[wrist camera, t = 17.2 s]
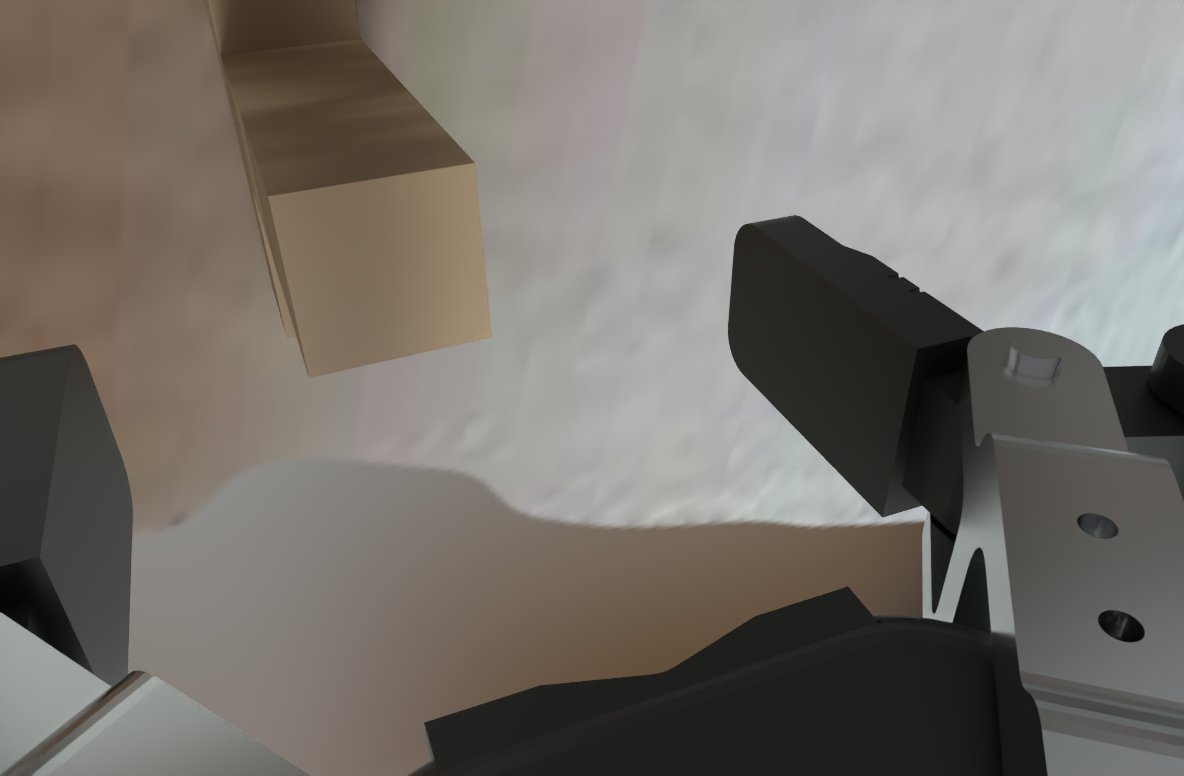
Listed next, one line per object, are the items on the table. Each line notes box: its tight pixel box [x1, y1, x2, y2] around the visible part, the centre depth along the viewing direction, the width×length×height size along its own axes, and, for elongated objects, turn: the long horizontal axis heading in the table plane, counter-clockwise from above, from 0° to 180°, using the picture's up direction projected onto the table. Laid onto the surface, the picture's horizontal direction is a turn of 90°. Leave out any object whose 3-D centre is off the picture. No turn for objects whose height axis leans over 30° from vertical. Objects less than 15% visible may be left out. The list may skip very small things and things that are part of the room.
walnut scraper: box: [205, 0, 492, 378], centre depth 19 cm, size 3×11×12 cm, turn 1°
